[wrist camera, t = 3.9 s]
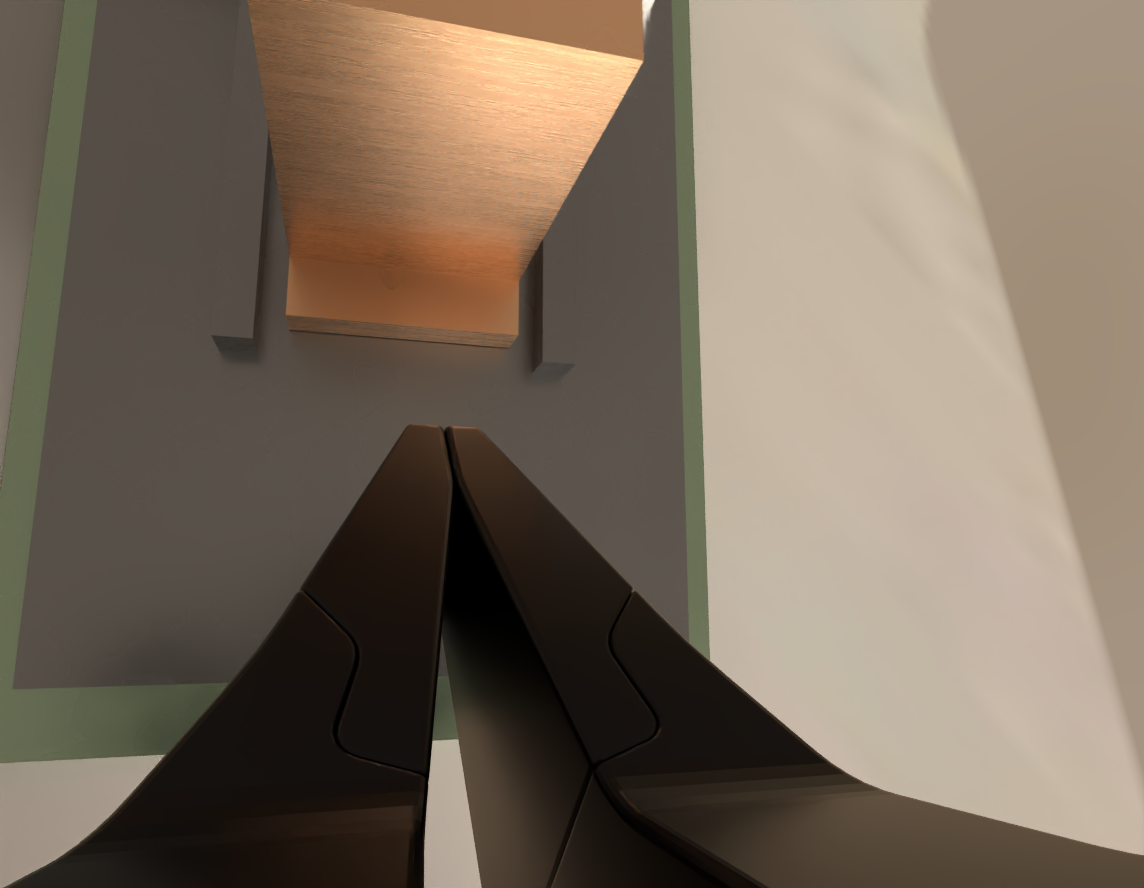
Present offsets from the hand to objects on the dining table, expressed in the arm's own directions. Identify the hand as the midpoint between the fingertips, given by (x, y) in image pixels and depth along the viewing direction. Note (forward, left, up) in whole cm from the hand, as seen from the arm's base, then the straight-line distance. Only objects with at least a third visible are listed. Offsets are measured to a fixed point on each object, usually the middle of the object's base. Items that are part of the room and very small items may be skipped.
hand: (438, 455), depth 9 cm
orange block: (+4, +7, -9) cm, 12 cm away
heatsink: (+4, +6, -10) cm, 13 cm away
